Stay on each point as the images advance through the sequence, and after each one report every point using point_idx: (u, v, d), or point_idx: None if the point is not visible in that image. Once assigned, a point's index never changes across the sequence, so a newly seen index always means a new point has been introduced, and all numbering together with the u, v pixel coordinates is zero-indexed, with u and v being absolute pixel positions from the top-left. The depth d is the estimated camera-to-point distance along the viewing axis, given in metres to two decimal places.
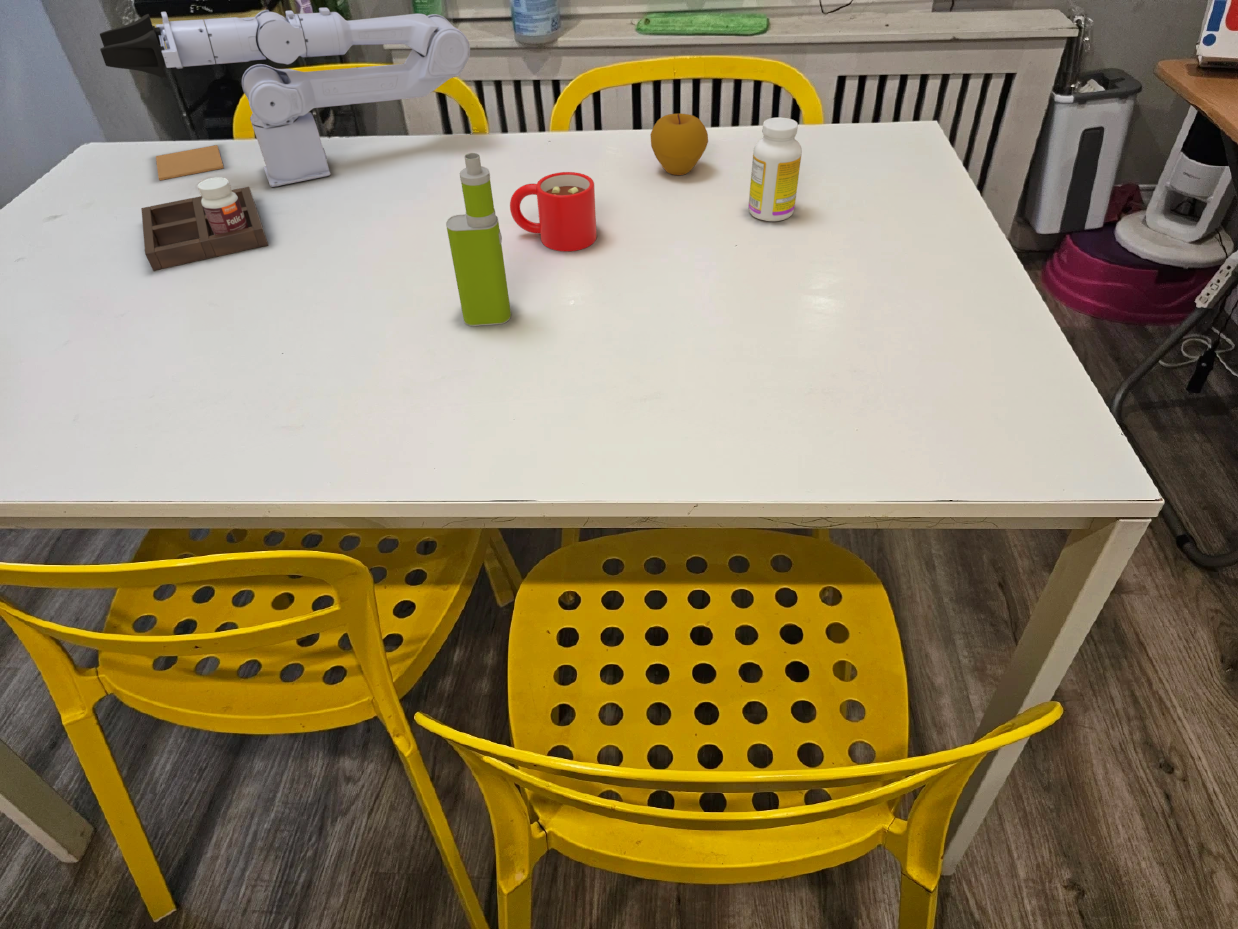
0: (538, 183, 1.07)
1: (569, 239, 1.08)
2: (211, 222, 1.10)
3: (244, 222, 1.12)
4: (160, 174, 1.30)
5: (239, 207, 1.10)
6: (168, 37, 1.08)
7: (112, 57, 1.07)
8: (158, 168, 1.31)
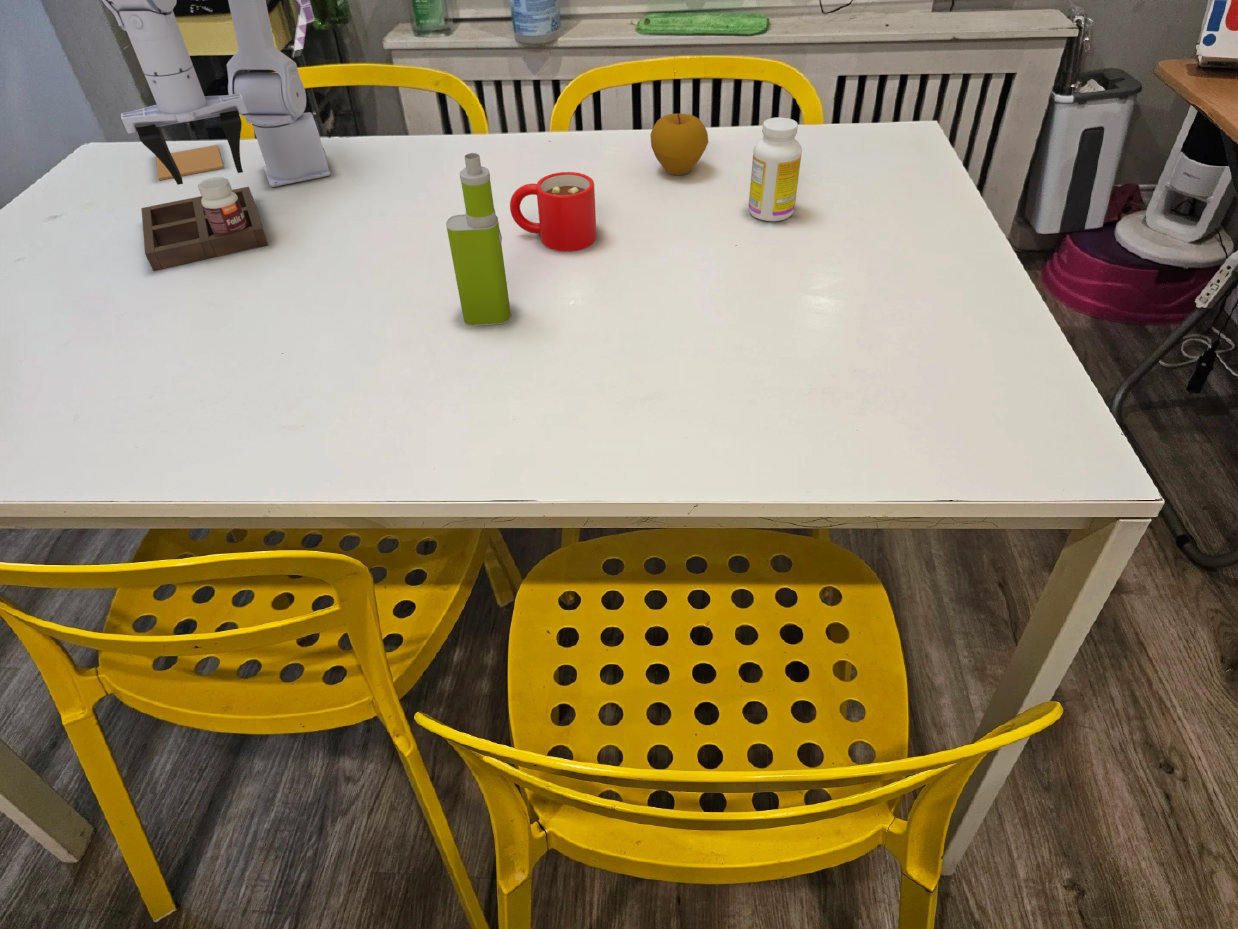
0: (538, 183, 1.07)
1: (569, 239, 1.08)
2: (211, 222, 1.10)
3: (244, 222, 1.12)
4: (160, 174, 1.30)
5: (239, 207, 1.10)
6: (217, 109, 1.01)
7: None
8: (158, 168, 1.31)
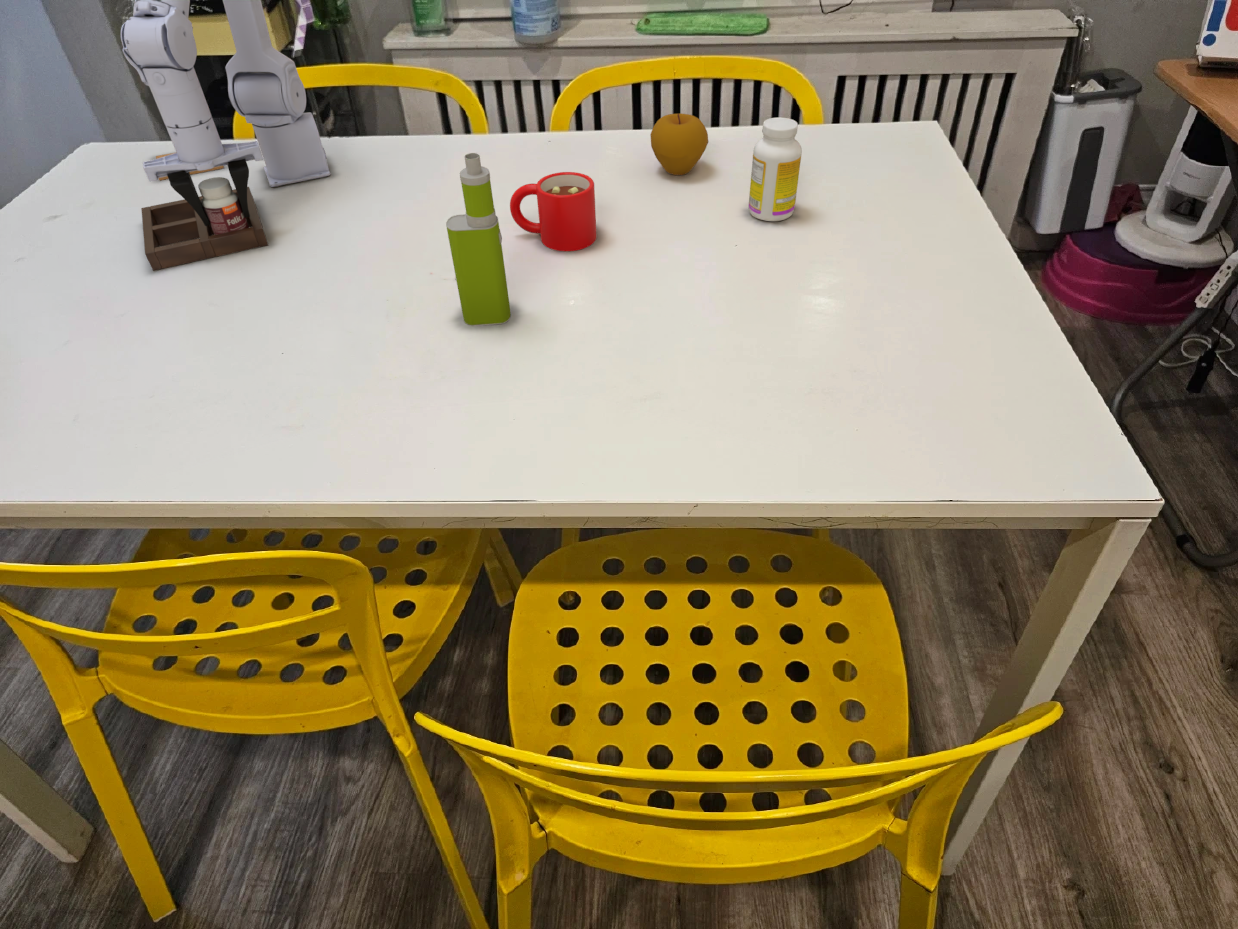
0: (538, 183, 1.07)
1: (569, 239, 1.08)
2: (211, 222, 1.10)
3: (244, 222, 1.12)
4: None
5: (239, 207, 1.10)
6: (234, 157, 1.06)
7: None
8: None
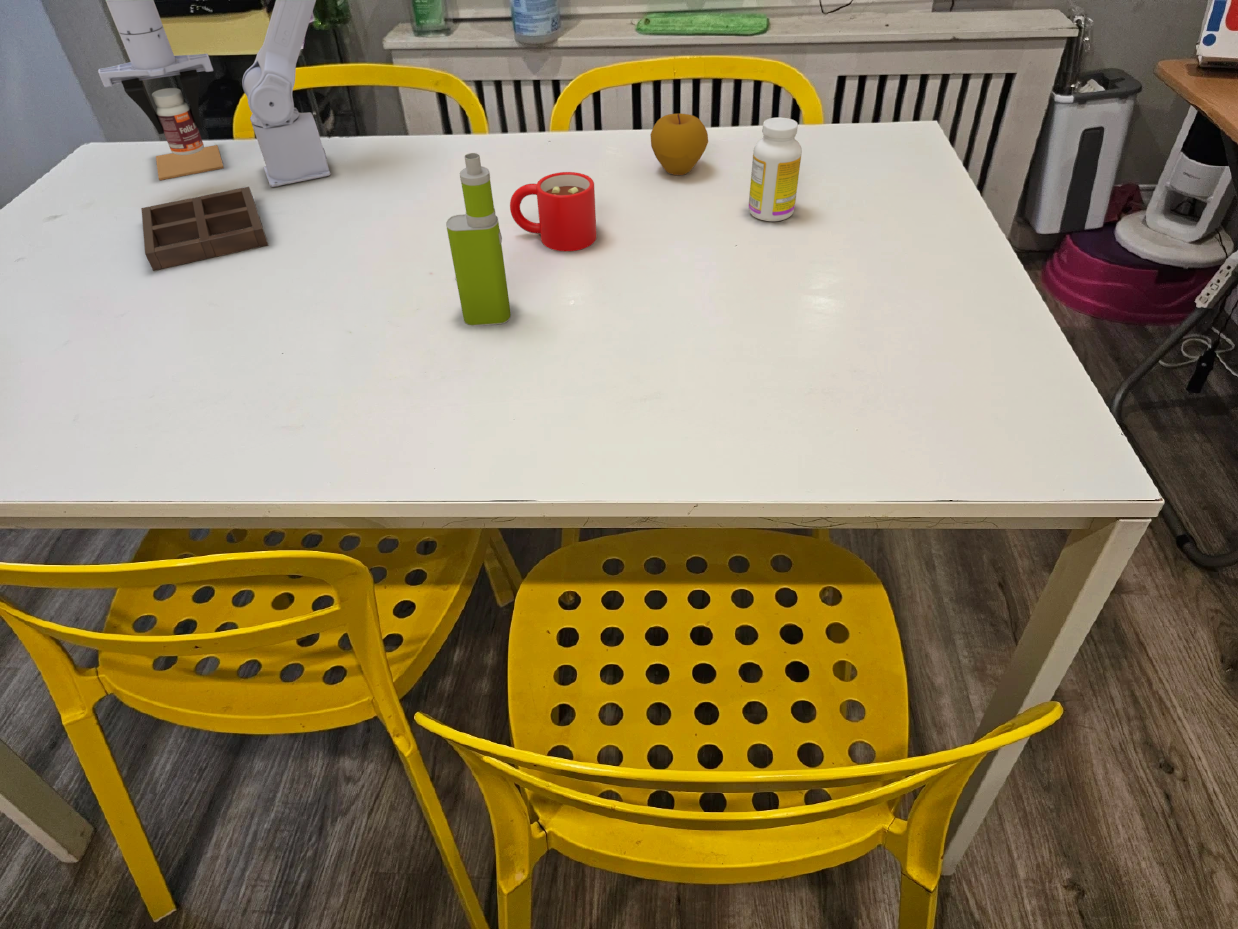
0: (538, 183, 1.07)
1: (569, 239, 1.08)
2: (165, 130, 1.17)
3: (196, 132, 1.19)
4: (160, 174, 1.30)
5: (191, 117, 1.18)
6: (185, 66, 1.13)
7: None
8: (158, 168, 1.31)
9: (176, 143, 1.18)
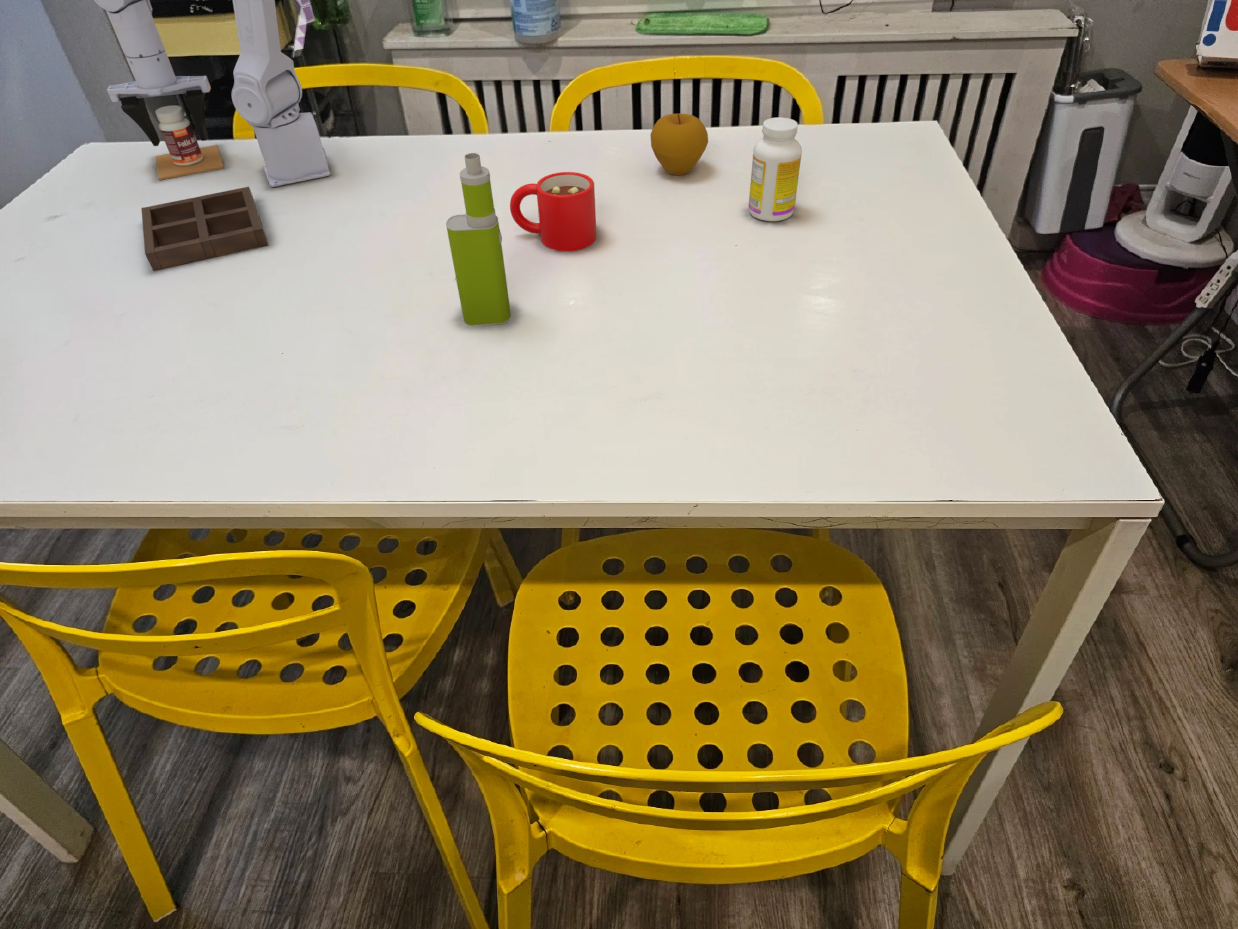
0: (538, 183, 1.07)
1: (569, 239, 1.08)
2: (166, 143, 1.30)
3: (195, 146, 1.31)
4: (160, 174, 1.30)
5: (189, 132, 1.30)
6: (182, 87, 1.25)
7: (204, 131, 1.31)
8: (158, 168, 1.31)
9: (175, 155, 1.31)
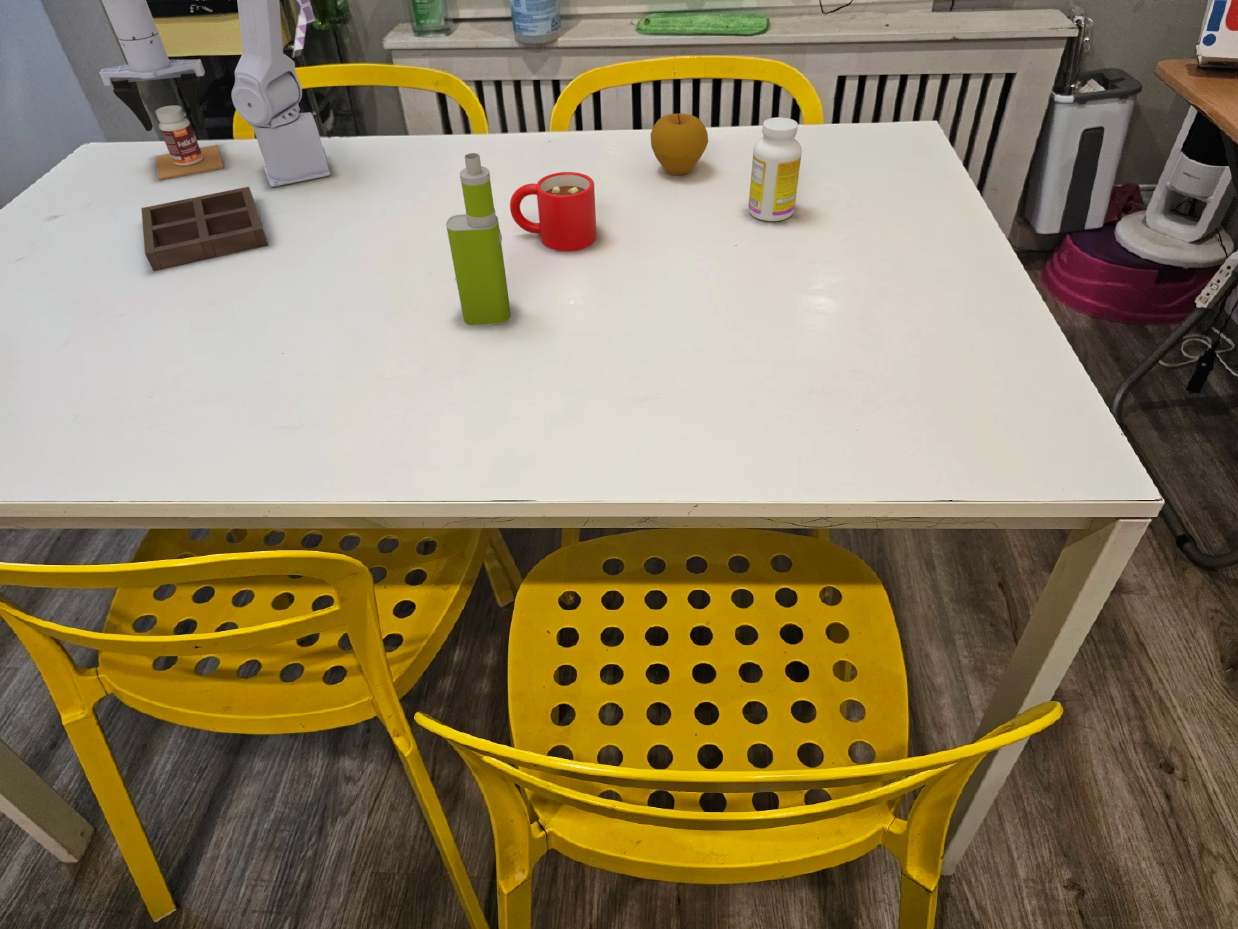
0: (538, 183, 1.07)
1: (569, 239, 1.08)
2: (166, 143, 1.30)
3: (195, 146, 1.31)
4: (160, 174, 1.30)
5: (189, 132, 1.30)
6: (176, 71, 1.23)
7: (199, 115, 1.29)
8: (158, 168, 1.31)
9: (175, 155, 1.31)
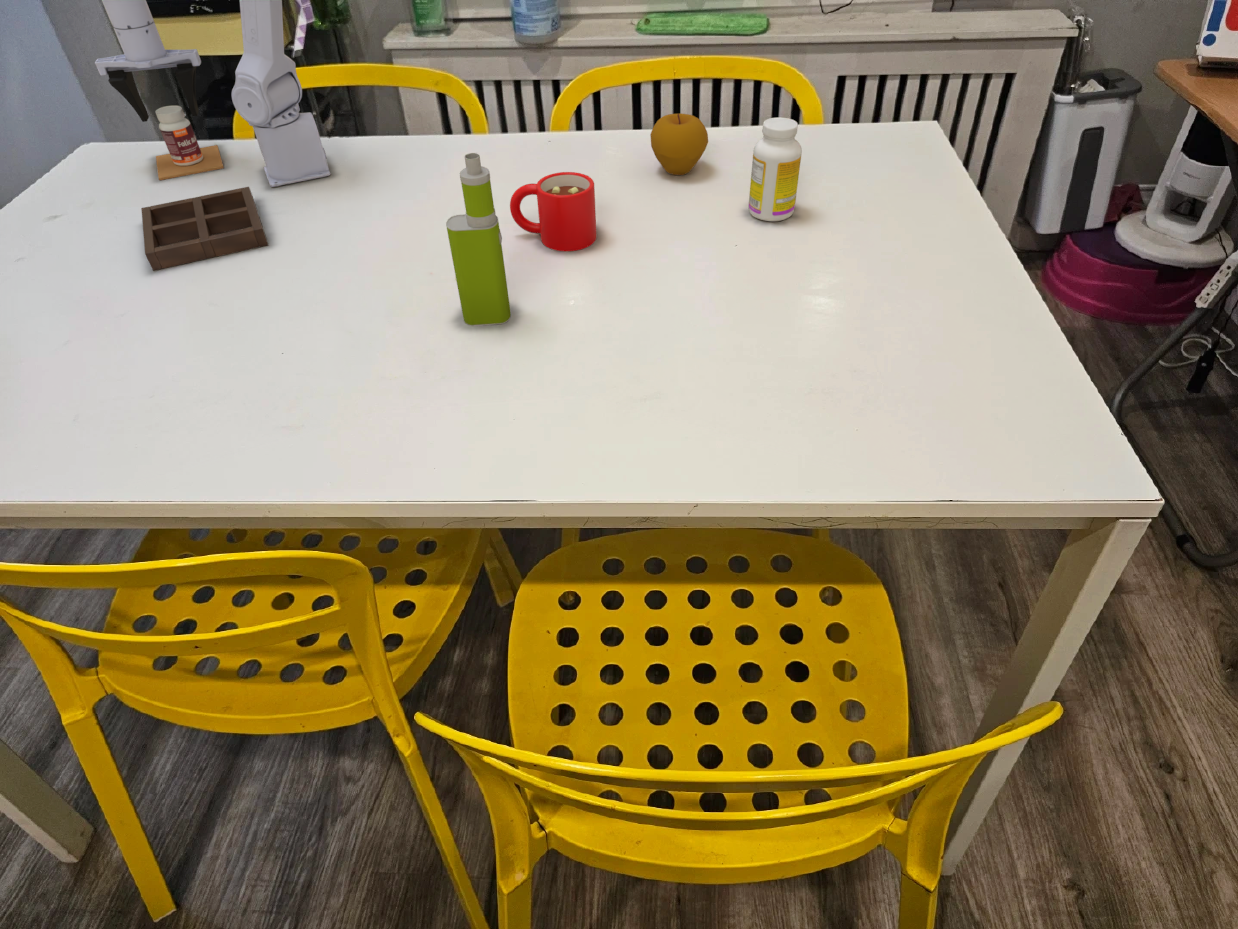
0: (538, 183, 1.07)
1: (569, 239, 1.08)
2: (166, 143, 1.30)
3: (195, 146, 1.31)
4: (160, 174, 1.30)
5: (189, 132, 1.30)
6: (172, 60, 1.22)
7: (196, 106, 1.28)
8: (158, 168, 1.31)
9: (175, 155, 1.31)
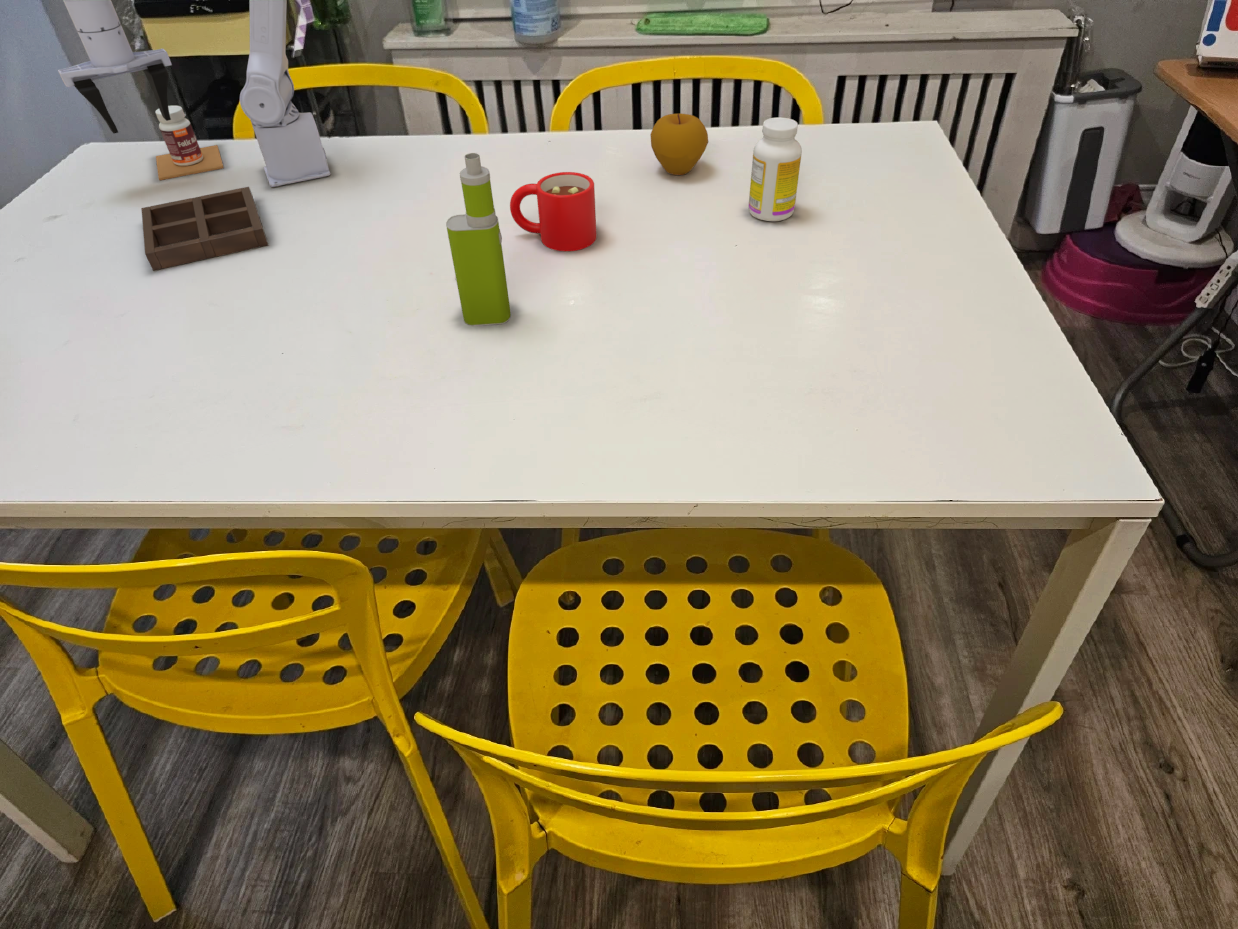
0: (538, 183, 1.07)
1: (569, 239, 1.08)
2: (166, 143, 1.30)
3: (195, 146, 1.31)
4: (160, 174, 1.30)
5: (189, 132, 1.30)
6: (146, 62, 1.16)
7: None
8: (158, 168, 1.31)
9: (175, 155, 1.31)
